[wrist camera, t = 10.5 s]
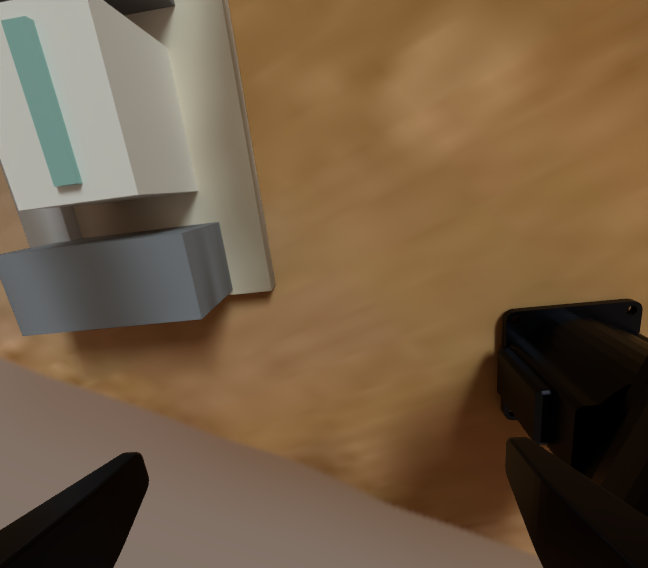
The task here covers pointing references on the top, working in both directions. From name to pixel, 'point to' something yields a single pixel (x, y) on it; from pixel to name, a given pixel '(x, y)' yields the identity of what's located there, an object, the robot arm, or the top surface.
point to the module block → (87, 107)
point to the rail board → (157, 206)
